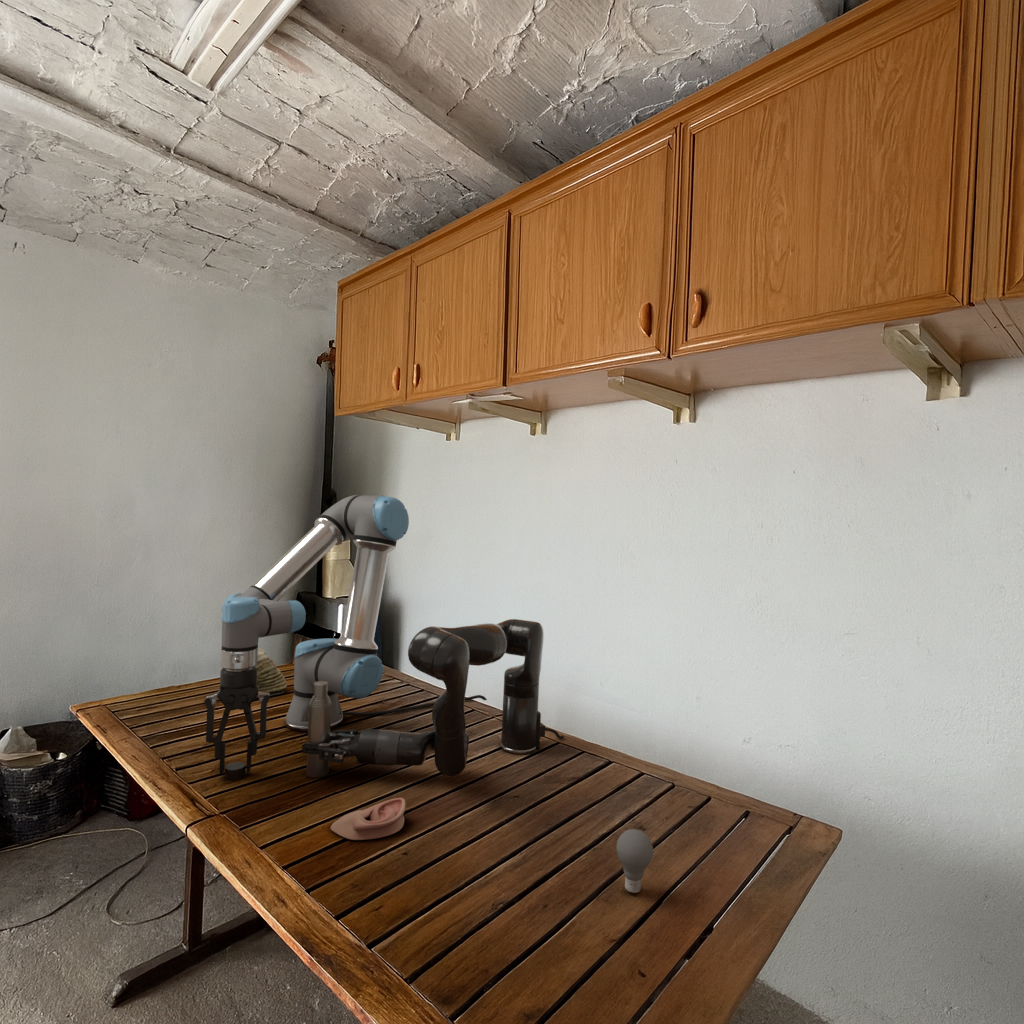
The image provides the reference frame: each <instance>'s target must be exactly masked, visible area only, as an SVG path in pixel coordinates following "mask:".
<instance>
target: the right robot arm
mask: <svg viewBox="0 0 1024 1024" xmlns="http://www.w3.org/2000/svg"><path fill="white" fill-rule="evenodd" d="M544 634H545V633H544V628H543V625H542V624H541V623H540V622H538V621H534V620H527V619H526V620H525V619H516V618H509V619H506V620H503V621H501V622H498V623H479V624H478V623H477V624H473V625H463V626H458V627H457V626H455V627H443V626H433V625H432V626H431V625H430V626H426V627H424V628H422V629H421V630H419V631H418V632H416V634H415V635H414V637H412V639H411V641H410V643H409V645H408V647H407V649H408V650H407V657H408V660H409V663H410V664H411V666H413V668H415V669H416V670H417V671H419V672H421V673H423V674H426V675H427V676H429V677H431V678H434V679H436V680H437V681H442V682H443V683H444V686H445V690H444V691H443V692H442V693H441V694H439V696H438V697H437V698H436V700H435V701H434V702H435V703H434V706H432V711H431V718H432V727H433V729H432V730H428V731H423V732H406V731H397V730H392V729H391V730H390V729H373V728H363V729H362V730H359V729H335V730H333V731H332V732H330V742H329V743H321V744H320V743H308V742H303V744H302V745H301V747H302V748H301V753H302V754H306V755H307V754H318V756H319V759H320V760H326V761H329V762H332V763H336V764H337V763H338V764H342V763H344V759H345V758H351V757H352V758H353V757H355V758H356V761H357V763H358V764H360V765H373V766H374V765H375V766H413V767H416V766H422V765H423V764H424V763H425V761H426V759H427V757H428V755H429V754H430V753H431V752H434V764H435V768H436V769H437V770H438V772H439V773H440V774H442V775H443V776H446V777H448V778H449V777H451V778H453V777H457V776H459V775H460V774H461V773H463V772H464V770H465V768H466V766H467V761H468V753H469V745H470V736H469V734H468V733H467V732H466V729H467V728H466V716H465V713H466V712H465V701H464V700H465V698H466V693H467V692H466V691H467V686H468V680H469V679H468V678H469V669H470V666H477V667H478V666H485V665H489V664H494V663H495V662H498V661H500V660H501V659H502V658H503V657H504V656H505V654H506V655H512V656H516V657H517V656H518V657H524V661H523V663H522V664H520V665H515V666H510V667H508V668H506V669H505V671H504V674H503V696H502V697H503V698H502V714H501V715H502V716H501V718H502V719H501V737H500V748H501V749H502V750H503V751H504V752H507V753H509V754H516V755H517V754H518V755H524V754H530V753H533V752H535V751H538V750H540V746H541V745H540V742H541V738H545V737H546V732H550V733H553V734H554V735H555V736H556V737H557V739H559V740H563V739H565V735H560V734H559V732H558V731H557V730H556V729H553V728H549V727H546V725H545V724H544V723H542V722H541V719H542V713H541V712H540V711H539V700H540V699H539V698H540V697H539V696H540V695H539V694H540V677H541V672H542V671H541V670H542V661H543V660H542V657H543V650H544V639H545V637H544V636H545V635H544ZM328 747H330V748H328Z"/></svg>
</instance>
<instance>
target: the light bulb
mask: <svg viewBox="0 0 1024 1024" xmlns="http://www.w3.org/2000/svg"><path fill="white" fill-rule="evenodd" d="M615 849H616V854H617V857H618V859H619V861H620V863H621V865H622V867H623V873H624V874H623V875H624V876H625V878H624V888H625V890H627V891H628V892H630V893H634V894H635V893H639V892H640V891H641V889H642V887H641V886H642V879H643V877H644V875H645V871H646V868H647V867H648V866H649V864H650V863H651V861H652V859H653V855H654V847H653V843H652V841H651V838H649V836H648V835H647V834H646V833H645V832H643V831H642V830H641V829H636V828H629V829H627V830H625V831H623V832H622V833H621V834H620V835H619V837H618V839H617V841H616V847H615Z"/></svg>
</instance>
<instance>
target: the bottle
mask: <svg viewBox="0 0 1024 1024" xmlns="http://www.w3.org/2000/svg"><path fill="white" fill-rule="evenodd" d="M327 693H328V682H326V681H318V682H315V683H314V695H313V697H312V699H311V701H310V703H309V721H308V732H307V743H320V744H321V743H329V742H330V733H331V729H330V726H331V700H330V698H329V697H328V695H327ZM328 748H330V747H328ZM329 772H330V761H326V760H320V759H319V756H318V754H306V775H307V776H308V777H310V778H323V777H325V776H327V775H328V774H329Z"/></svg>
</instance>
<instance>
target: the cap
mask: <svg viewBox="0 0 1024 1024" xmlns="http://www.w3.org/2000/svg"><path fill="white" fill-rule="evenodd" d="M246 768H247V763H246V762H242V761H235V762H231V763H228V764H226V765H225V768H224V779H225V780H227V781H231V782H233V781H239V780H242V779H244V778H245V777H246Z"/></svg>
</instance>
